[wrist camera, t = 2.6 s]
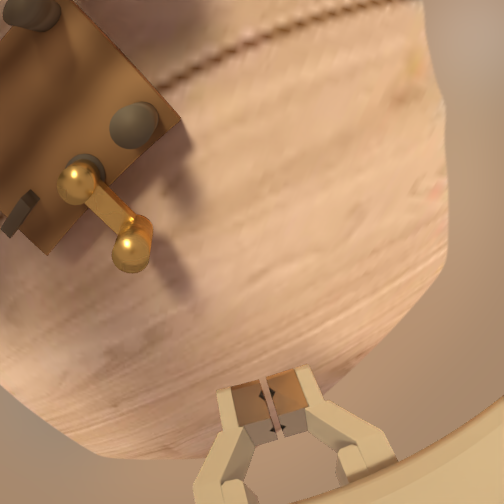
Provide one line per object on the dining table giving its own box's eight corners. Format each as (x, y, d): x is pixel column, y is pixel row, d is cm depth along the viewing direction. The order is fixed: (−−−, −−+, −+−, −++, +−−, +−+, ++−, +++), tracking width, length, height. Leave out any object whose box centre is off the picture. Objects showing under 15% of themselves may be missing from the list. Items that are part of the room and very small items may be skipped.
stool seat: (-46, 132, 17) (-91, 152, 11) (63, -9, 14) (29, -32, 8) (55, 242, 25) (29, 286, 19) (180, 117, 23) (179, 128, 17)
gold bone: (59, 177, 20) (39, 196, 16) (82, 151, 19) (63, 165, 16) (136, 251, 24) (130, 280, 21) (160, 229, 24) (158, 256, 20)
